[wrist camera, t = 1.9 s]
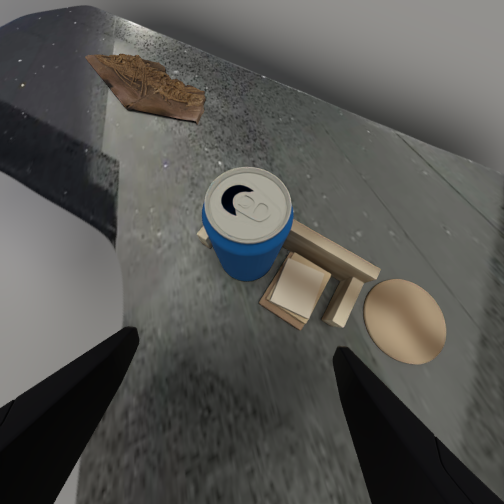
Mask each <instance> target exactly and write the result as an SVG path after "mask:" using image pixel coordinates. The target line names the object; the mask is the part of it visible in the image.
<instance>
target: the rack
mask: <svg viewBox="0 0 504 504" xmlns="http://www.w3.org/2000/svg"><path fill="white" fill-rule="evenodd" d="M197 235H198V237H199V239H200V240H201V242H202V244H204V245H205V246H207V247H208V248H210V249H211V247H212V243H211V241H210V239H209V237H208V235H207V233H206V231H205V228H204V226H203V227H202V228H201V230H200V231H199V232H198V233H197ZM282 247H284V248H286V249H287V250H289V251H291V252H292V253H294V252H295V253H297V254H299V255H300V256H302V257H304V258H305V259H307V260H309V261H310V262H312V263H314V264H315V265H317V266H319V267H320V268H322V269H324V270H325V271H327V272H329V273H330V274H331V276H332V277H334V278H335V279H337V280H339V281H340V283H339V285H338V287H337V289H336V291H335V293H334V295H333V297H332V299H331V301H330V303H329V305H328V307H327V309H326V311H325V313H324V315H323V317H322V319H321V320H322V321H323V322H325V323H327V324H328V325H330V326H334V327H341V328H344V326H345V323H346V321H347V319H348V317H349V315H350V312H351V310H352V308H353V306H354V304H355V301H356V299H357V297H358V295H359V293H360V290H361V288H362V286H363V284H364V283H365V282H369V281H373V280H376V279H377V277H378V274H379V272H380V270H381V269H380V268H378V267H376V266H374V265H373V264H371V263H369V262H367V261H366V260H364V259H362V258H360V257H359V256H357V255H355V254H353V253H352V252H350V251H348V250H346V249H345V248H343V247H341V246H339V245H338V244H336V243H334V242H333V241H331V240H329V239H327V238H326V237H324V236H322V235H320V234H319V233H317V232H315V231H313V230H312V229H310V228H308V227H306V226H305V225H303V224H301V223H299V222H298V221H296V220H294V219H293V224H292V227H291V230H290V232H289V234H288V236H287V238H286V240H285V242H284V244H283V245H282Z"/></svg>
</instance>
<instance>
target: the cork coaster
mask: <svg viewBox="0 0 504 504" xmlns="http://www.w3.org/2000/svg"><path fill="white" fill-rule="evenodd" d="M363 313H364V321H365V325H366V328H367V330H368V333H369V335H370V336H371V338H372V340H373V341H374V342H375V344H376V345H377V346H378V347H379V348H380V349H381V350H382V351H383V352H384V353H386V354H387V355H388V356H390V357H392V358H393V359H396V360H398V361H401V362H404V363H408V364H423V363H426V362H429V361H431V360H432V359H434V358H435V357H436V356H437V355H438V354H439V353H440V352H441V350H442V348H443V346H444V343H445V339H446V325H445V320H444V317H443V314H442V312H441V310H440V308H439V306H438V304H437V303H436V302H435V300H434V299H433V298H432V297H431V295H429V294H428V293H427V292H426V291H425V290H424V289H423V288H421V287H419V286H418V285H416V284H414V283H412V282H409V281H406V280H400V279H392V280H387V281H383V282H381V283H379V284H377V285H376V286H374V287H373V288H372V289H371V290H370V292H369V293H368V295H367V297H366V299H365V303H364V311H363Z"/></svg>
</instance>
